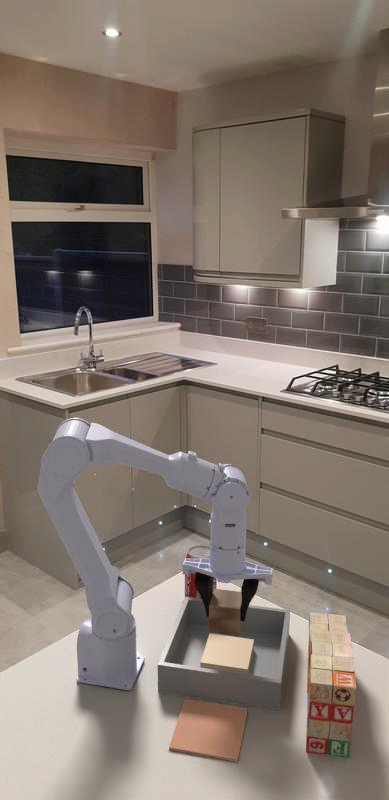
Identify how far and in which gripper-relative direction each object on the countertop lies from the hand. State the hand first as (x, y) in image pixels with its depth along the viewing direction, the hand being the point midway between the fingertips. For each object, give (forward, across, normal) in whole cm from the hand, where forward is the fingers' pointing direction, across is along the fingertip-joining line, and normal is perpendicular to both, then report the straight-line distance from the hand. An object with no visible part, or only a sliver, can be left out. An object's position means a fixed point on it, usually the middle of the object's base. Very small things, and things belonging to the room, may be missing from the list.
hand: (226, 615), depth 107 cm
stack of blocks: (+11, +17, -4) cm, 21 cm away
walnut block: (+2, 0, 0) cm, 2 cm away
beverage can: (+11, -8, +17) cm, 22 cm away
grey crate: (+11, 0, +2) cm, 11 cm away
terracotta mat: (+10, 0, -14) cm, 17 cm away
